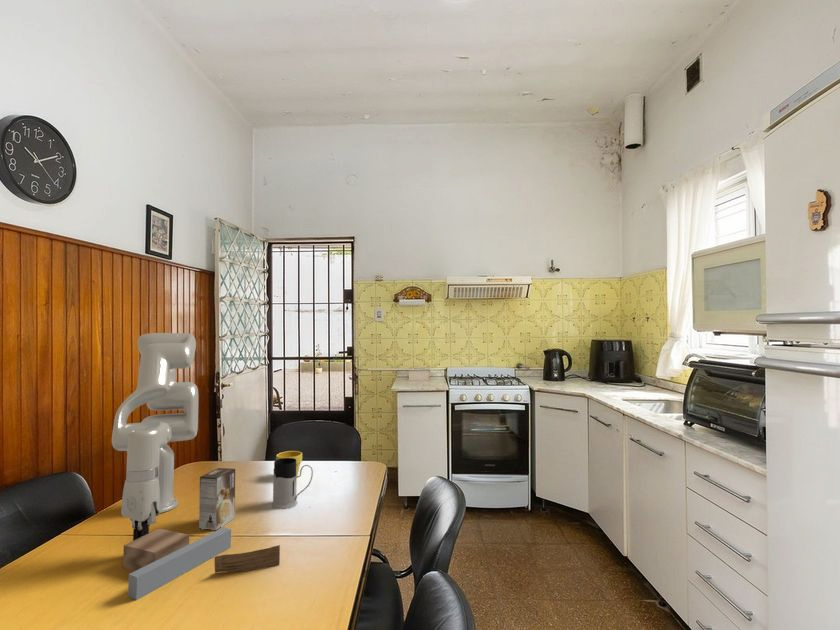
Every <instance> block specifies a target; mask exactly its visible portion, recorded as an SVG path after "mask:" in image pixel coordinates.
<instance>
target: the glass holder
mask: <svg viewBox="0 0 840 630" xmlns="http://www.w3.org/2000/svg"><path fill="white" fill-rule="evenodd" d="M304 467H309V468H310V471H311V474H310V475H311V476H310V480H309V482H308V483H307V485H306V486H305V487H304V488H303V489H302V490H301V491H299V492H298V493H297V484H298V483H297V482H298V481H297V479H298V478H300V477H301V476H302V471H303V468H304ZM272 475H273V483H272V485H273V487H272V492H273V493H272V496H273V497H272V503H271V508H273V509H274V508H275V510H288V509H292V508H294V507H296V506H297V505H298V501H297V499H298V496H299V495H300V494H302V493H303V492H304V491H305V490H306V489H307V488H308V487H309V486H310V484H311V483H312V481H313V477H314V476H313V475H314V470H313V467H312V466H311V465H309V464H305V465H302V467H300V469H299V475H298V476H297V474H296V459H294V458H282V459H278V460H276V459H275V460H274V462H273V474H272ZM291 507H292V508H291ZM287 508H288V509H287Z"/></svg>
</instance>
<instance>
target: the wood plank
mask: <svg viewBox="0 0 840 630" xmlns="http://www.w3.org/2000/svg"><path fill="white" fill-rule="evenodd" d="M280 551H281V546H280V544H279V545H275V546H271V547H268V548H261V549H258V550H257V549H256V550H252V551H248V552H242V553H241V552H240V553H233V554H232V553H231V554H222V555H221V554H220V555H216V556H215V557H214V573H237V572H248V571H249V572H250V571H253V570H261V569H265V568H266V569H267V568H271V567H275V566H276V567H277V566H280V563H281V562H280V556H281V555H280V553H281V552H280Z"/></svg>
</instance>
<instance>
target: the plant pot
mask: <svg viewBox="0 0 840 630" xmlns="http://www.w3.org/2000/svg"><path fill="white" fill-rule="evenodd" d="M275 458H276V459H275V461H276V460H278V459H282V458H294V459H296V474H297V476H299V473H300V468H301V463H302V462H303V452H301V451H300V450H299V451H298V450H287V451H283V452H279V453H278V454H276V457H275Z"/></svg>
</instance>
